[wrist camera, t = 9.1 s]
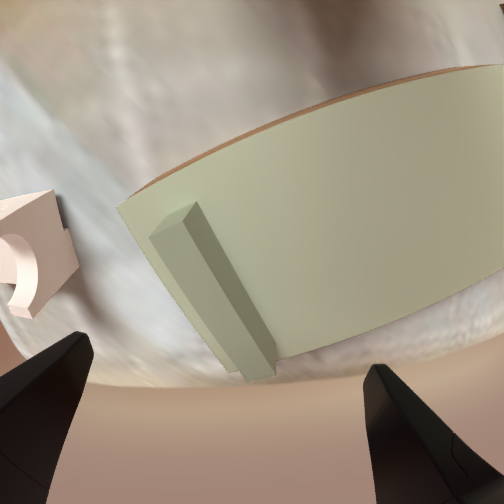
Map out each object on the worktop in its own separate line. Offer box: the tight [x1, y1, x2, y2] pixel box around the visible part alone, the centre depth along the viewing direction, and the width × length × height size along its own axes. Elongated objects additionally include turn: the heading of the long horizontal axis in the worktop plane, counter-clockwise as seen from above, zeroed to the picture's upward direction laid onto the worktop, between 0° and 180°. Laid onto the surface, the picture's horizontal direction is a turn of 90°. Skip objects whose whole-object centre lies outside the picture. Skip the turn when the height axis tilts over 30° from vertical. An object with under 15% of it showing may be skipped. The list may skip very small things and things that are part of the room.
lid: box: [116, 64, 504, 382], centre depth 12 cm, size 12×25×3 cm, turn 115°
